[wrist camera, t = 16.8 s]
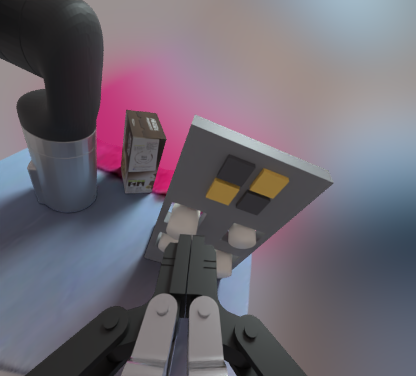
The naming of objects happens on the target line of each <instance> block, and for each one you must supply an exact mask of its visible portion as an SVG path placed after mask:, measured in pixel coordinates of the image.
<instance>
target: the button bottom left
mask: <svg viewBox="0 0 416 376" xmlns="http://www.w3.org/2000/svg"><path fill="white" fill-rule="evenodd" d="M178 241H179V240H176V239H173V238H172V237H170V236H169V235H168V234H165V233H162V235H161V238H160V241H159V244H158V248H159V249H160V250H161V251H162V252H164V251H165V248H166V247H167V246H168V244H169V243H170V242H172V243H178Z"/></svg>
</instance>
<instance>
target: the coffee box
mask: <svg viewBox="0 0 416 376" xmlns="http://www.w3.org/2000/svg"><path fill="white" fill-rule="evenodd" d="M165 142H166V136H165V134H164V132H163V129H162V126H161V124H160V121H159V119H158V116H157V114H156V113H150V112H141V111H140V112H139V111H131V110H126V118H125V128H124V139H123V150H122V161H121V171H122V177H123V183H124V190H125V193H151V192H152V189H153V185H154V181H155V178H156V174H157V171H158V167H159V163H160V160H161V156H162V153H163V149H164V146H165Z"/></svg>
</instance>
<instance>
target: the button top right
mask: <svg viewBox="0 0 416 376" xmlns="http://www.w3.org/2000/svg"><path fill="white" fill-rule="evenodd" d="M228 242H229V244H230V245H231V246H233V247H235V248H238V249H248V248H251V247H253V246H254V245H255V244H256V232H255V230H254V229H251V228H248V227H245V226H242V225H239V224H236V223H234V224H233V225H232V226H231V227H230V228H229V235H228Z"/></svg>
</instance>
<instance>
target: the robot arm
mask: <svg viewBox="0 0 416 376" xmlns="http://www.w3.org/2000/svg"><path fill="white" fill-rule="evenodd" d="M103 51H104V50H103V36H102V30H101V26H100V23H99V20H98V18H97V16H96V14H95V12H94V11H93V9H92V8H91V7H90V6H89V5H88V4H87V3H85V2H84V1H83V0H0V58H1V59H3V60H5V61H7V62H10V63H12V64H14V65H16V66H18V67H20V68H22V69H25V70H27V71H29V72H31V73H33V74H35V75H37V76H39V77H42V78H43V79H44V83H45V89H40V90H35V91H31V92H29V93H26V94H24V95H23V96H22V97H20V98H19V100H18V102H17V113H18V117H19V120H20V123H21V126H22V129H23V133H24V136H25V140H26V143H27V146H28V149H29V153H30V156H31V159H32V160H31V162H30V163H29V165H28V167H27V169H28V172H29V175H30V178H31V181H32V184H33V187H34V190H35V193H36V196H37V199H38V202H39V203H41V204H46V205H47V206H48V207H50V208H51V209H53V210H55V211H59V212H66V213H69V212H77V211H81V210H83V209H85V208H87V207H89V206H90V205H91V204H92V203H93V202H94V201H95V199H96V197H97V152H96V119H97V115H98V111H99V107H100V100H101V81H102V68H103ZM191 240H192V247H191ZM204 240H205V236H203V235H193V237H192V235H189V234H180V235H179V241H178V243H172V242H170V243H169V244H168V246H167V247H166V248H165V251H164V255H163V259H162V263H161V268H160V272H159V276H158V280H157V285H156V289H155V293H154V295H153V297H152V298H151V299H150V300H149V301H148V302H147V303H146V304H144V305H142V306H140V307H137V308H133V309H130V310H125V309H124V308H123V307H120V306H113V307H110V308H108V309H106V310H104V311H103V312H102V313H101V314H99V315H98V316H97V317H96V318H95V319H93V320H92V321H91V322H90V323H88V324H87V325H86V326H85V327H84V328H82V329H81V330H80V331H79V332H77V333H76V334H75V335H74V336H73V337H71V338H70V339H69V340H68V341H66V342H65V343H64V344H63V345H62V346H60V347H59V348H58V349H57V350H56V351H54V352H53V353H52V354H51V355H49V356H48V357H47V358H46V359H45V360H43V361H42V362H41V363H40V364H38V365H37V366H36V367H35V368H34V369H32V370H31V371H30V372H29V373H27V374H26V375H25V376H114V375H115V374H116V373H117V372H118V371H119V369H120V368H121V367H122V366H123V365H124V364H125V363H126V364H125V367H124V369H123V372H122V375H121V376H170V371H171V366H172V360H173V355H174V350H175V344H176V339H177V334H178V331H179V323H180V318H184V314H185V305H186V316H185V318H189V323H188V340H187V376H228V373H227V368H226V364H225V362H224V360H225V361H227V362H229V364H230V366H231V367H232V369H233V370H234V372H235V374H236V375H237V376H307V375H306V374H305V373H304V372H303V370H302V369H301V368H300V367H299V366H298V365H297V363H296V362H295V361H294V360H293V359H292V358H291V356H290V355H289V354H288V353H287V352H286V350H285V349H284V348H283V347H282V346H281V345H280V343H279V342H278V341H277V340H276V339H275V337H274V336H273V335H272V334H271V333H270V332H269V330H268V329H267V328H266V327H265V326H264V325H263V323H262V322H261V321H260V320H259V319H257V318H256V317H254V316H252V315H243V316H241V317H239V316H237V315H235V314H232V313H230V312H228V311H226V310H225V309H224V308H223V307H222V306H221V304H220V303H219V301H218V297H217V263H216V261H217V260H216V251H215V249H214V247H213V245H204ZM190 256H191V257H190ZM187 285H188V286H187ZM186 295H187V297H186Z"/></svg>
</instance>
